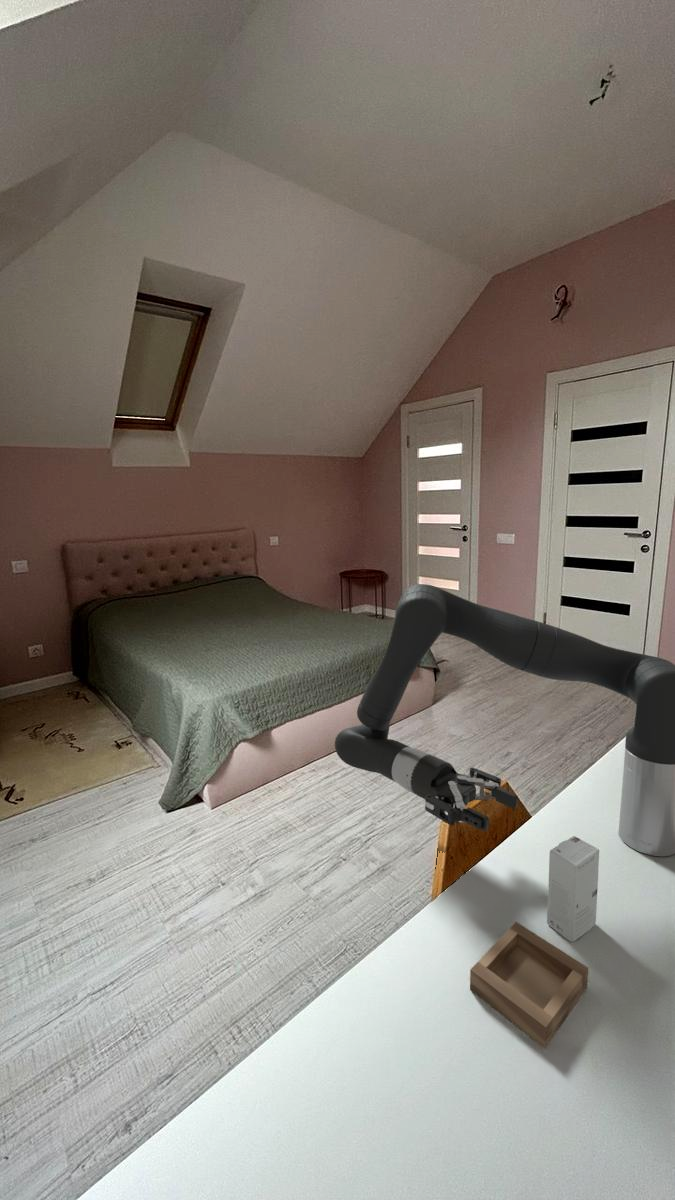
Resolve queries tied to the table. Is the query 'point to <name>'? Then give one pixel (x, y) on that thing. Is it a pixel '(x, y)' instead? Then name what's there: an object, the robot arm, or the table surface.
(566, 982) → the wooden tray
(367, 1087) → the table surface
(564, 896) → the skincare box
